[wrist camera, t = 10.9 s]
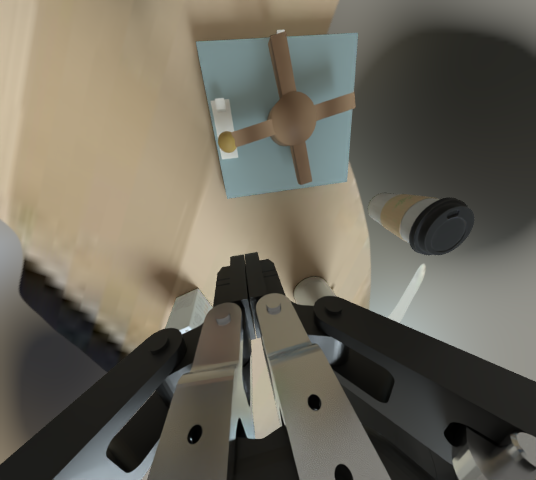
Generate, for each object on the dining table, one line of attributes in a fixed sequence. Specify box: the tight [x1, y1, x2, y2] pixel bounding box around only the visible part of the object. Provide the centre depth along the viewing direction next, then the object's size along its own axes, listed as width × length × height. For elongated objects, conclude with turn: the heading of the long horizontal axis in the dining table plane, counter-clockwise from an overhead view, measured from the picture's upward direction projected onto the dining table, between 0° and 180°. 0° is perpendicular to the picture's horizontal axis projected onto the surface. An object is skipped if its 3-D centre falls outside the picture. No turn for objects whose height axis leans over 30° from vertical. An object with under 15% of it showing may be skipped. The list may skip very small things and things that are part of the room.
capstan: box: [218, 31, 355, 185], centre depth 27 cm, size 19×17×5 cm
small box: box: [165, 289, 213, 334], centre depth 40 cm, size 8×6×10 cm
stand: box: [196, 30, 358, 199], centre depth 29 cm, size 21×22×5 cm
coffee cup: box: [368, 193, 474, 255], centre depth 35 cm, size 9×9×15 cm
